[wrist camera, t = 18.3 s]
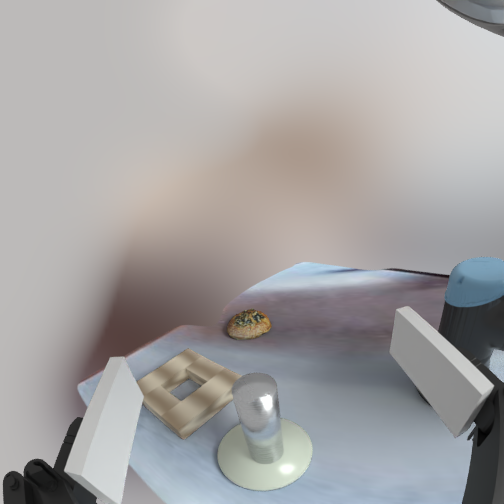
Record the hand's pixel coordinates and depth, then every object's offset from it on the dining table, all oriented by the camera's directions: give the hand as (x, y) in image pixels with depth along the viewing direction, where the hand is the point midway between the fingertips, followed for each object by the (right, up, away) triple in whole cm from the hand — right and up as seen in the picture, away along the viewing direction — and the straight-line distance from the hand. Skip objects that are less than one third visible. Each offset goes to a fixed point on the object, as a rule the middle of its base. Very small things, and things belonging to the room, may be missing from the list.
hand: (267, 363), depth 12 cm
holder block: (-13, -22, +35) cm, 43 cm away
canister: (+1, -24, +21) cm, 32 cm away
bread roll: (-1, -14, +55) cm, 57 cm away
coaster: (+1, -25, +21) cm, 32 cm away
